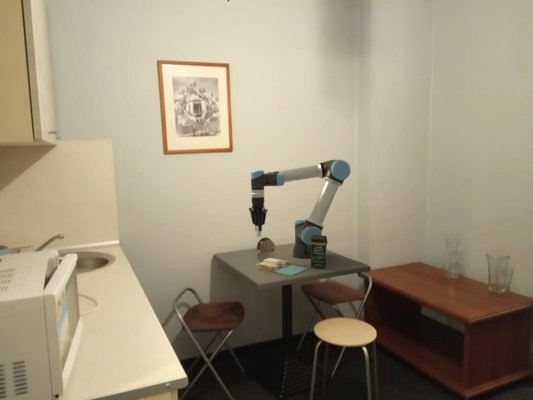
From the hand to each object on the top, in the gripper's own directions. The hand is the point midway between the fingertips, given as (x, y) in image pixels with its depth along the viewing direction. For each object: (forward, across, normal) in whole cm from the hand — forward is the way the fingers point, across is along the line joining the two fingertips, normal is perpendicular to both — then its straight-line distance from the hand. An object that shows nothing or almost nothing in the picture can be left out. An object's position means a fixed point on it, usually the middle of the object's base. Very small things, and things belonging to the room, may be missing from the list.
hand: (258, 236), depth 238 cm
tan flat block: (+17, +10, 0) cm, 20 cm away
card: (+14, +10, 0) cm, 18 cm away
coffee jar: (+17, +32, +15) cm, 39 cm away
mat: (+17, +23, 0) cm, 28 cm away
